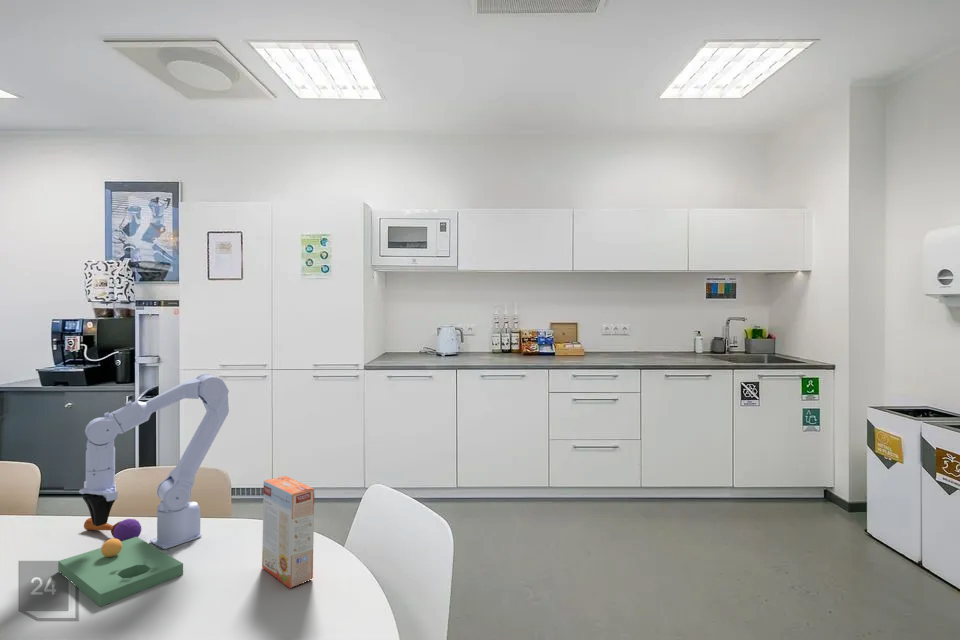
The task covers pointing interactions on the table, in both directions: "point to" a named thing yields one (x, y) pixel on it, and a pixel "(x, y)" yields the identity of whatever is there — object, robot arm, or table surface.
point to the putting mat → (120, 571)
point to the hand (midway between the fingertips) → (99, 523)
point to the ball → (111, 547)
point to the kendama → (118, 528)
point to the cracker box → (288, 530)
